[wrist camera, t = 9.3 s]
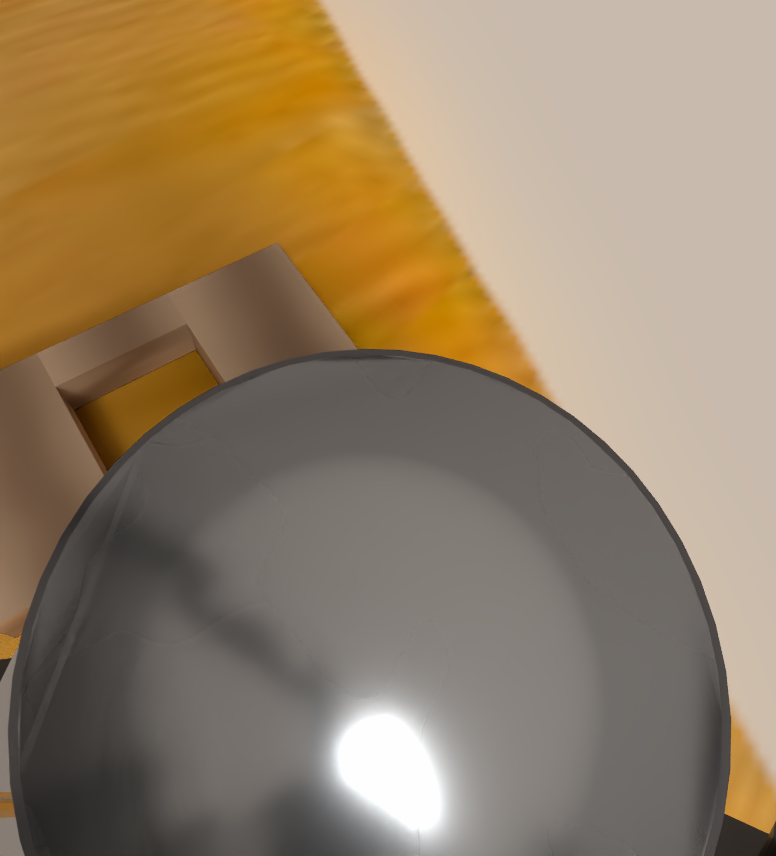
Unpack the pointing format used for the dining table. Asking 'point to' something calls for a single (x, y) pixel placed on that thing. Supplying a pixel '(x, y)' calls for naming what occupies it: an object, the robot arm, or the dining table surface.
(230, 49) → the dining table surface
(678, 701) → the silver metal cylinder
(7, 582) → the brown rectangular frame
